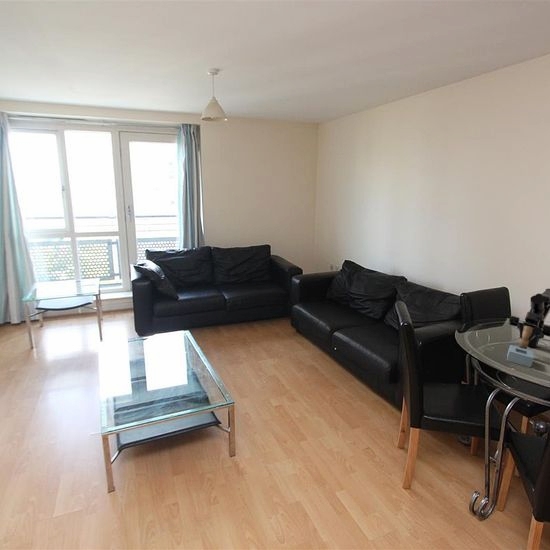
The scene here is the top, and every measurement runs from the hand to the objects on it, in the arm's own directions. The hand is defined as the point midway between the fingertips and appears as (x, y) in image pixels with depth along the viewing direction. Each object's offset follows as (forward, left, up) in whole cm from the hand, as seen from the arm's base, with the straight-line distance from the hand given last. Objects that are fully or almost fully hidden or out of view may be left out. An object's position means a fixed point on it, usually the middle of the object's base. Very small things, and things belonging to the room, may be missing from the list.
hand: (524, 339), depth 189 cm
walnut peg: (-1, -1, -7) cm, 7 cm away
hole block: (+6, +5, -9) cm, 12 cm away
